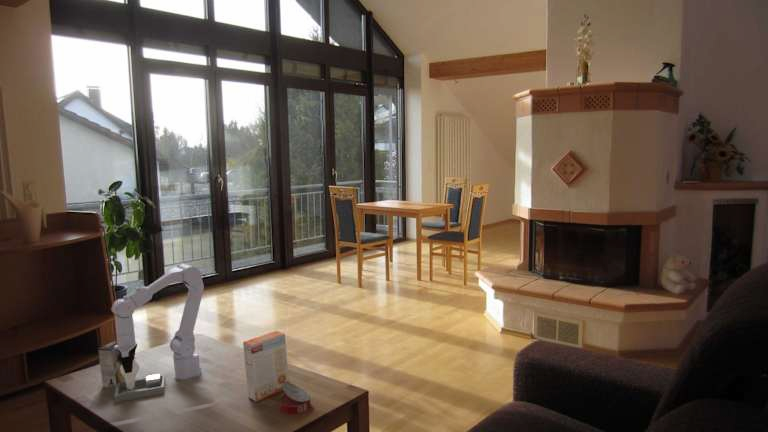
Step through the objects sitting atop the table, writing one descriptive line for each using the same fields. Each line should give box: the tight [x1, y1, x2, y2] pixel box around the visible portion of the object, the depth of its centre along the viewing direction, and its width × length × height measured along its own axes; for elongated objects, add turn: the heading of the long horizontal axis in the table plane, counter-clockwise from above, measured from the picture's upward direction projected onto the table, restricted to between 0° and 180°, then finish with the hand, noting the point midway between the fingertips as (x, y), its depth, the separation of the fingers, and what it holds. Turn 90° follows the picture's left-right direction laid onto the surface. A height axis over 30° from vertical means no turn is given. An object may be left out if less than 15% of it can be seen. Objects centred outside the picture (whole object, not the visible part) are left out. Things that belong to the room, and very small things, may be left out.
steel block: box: [145, 373, 161, 389], centre depth 192 cm, size 4×4×4 cm
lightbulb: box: [120, 359, 140, 390], centre depth 188 cm, size 6×6×11 cm
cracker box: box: [242, 330, 290, 403], centre depth 186 cm, size 14×6×21 cm, turn 135°
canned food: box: [279, 381, 311, 415], centre depth 176 cm, size 11×10×10 cm
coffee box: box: [97, 339, 125, 389], centre depth 198 cm, size 9×6×16 cm
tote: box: [113, 374, 166, 403], centre depth 190 cm, size 16×11×4 cm
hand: (129, 368), depth 188 cm, fingers closed on lightbulb, 6 cm apart
